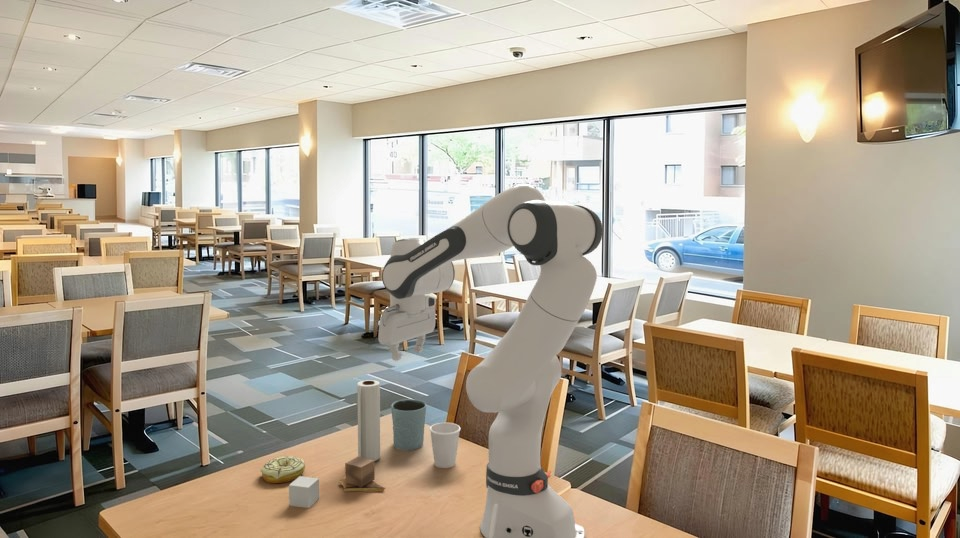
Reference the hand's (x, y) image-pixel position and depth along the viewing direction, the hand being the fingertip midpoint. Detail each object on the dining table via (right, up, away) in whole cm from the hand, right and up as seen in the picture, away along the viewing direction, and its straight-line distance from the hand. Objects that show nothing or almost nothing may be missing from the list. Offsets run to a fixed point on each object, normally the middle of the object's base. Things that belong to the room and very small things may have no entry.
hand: (407, 355), depth 163 cm
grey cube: (-23, -33, -13) cm, 42 cm away
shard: (-11, -33, -3) cm, 34 cm away
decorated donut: (-32, -31, +2) cm, 45 cm away
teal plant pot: (-2, -29, +23) cm, 37 cm away
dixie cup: (+9, -31, +10) cm, 33 cm away
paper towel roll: (-12, -30, +12) cm, 35 cm away
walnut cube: (-11, -31, -4) cm, 33 cm away
